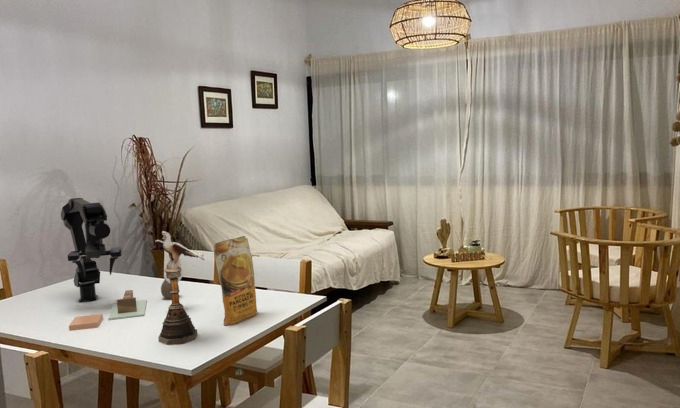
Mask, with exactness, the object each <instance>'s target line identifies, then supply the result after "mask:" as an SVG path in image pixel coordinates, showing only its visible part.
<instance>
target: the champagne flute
mask: <svg viewBox="0 0 680 408" xmlns="http://www.w3.org/2000/svg"><path fill="white" fill-rule="evenodd" d="M163 250H164V249H163ZM163 255H164V257H163V258H164V259H163V278H164V280H165V279H166V281H168V282H169V283H170V281H169V280H170V279H169V278H167V277H166V274H167V273H166V272H165V269H166V268H167V267H166V265H167V263H168V262H169V261H170V260H171V259H170V257H169V253H168V252H166V251H165V250H164V254H163ZM180 257H181V256H180ZM180 257H179V259H178V263H179V267H180V268H181V269H182V270H181V272H180V273H181V276H180V277H179V278H178V283H179V282H180V281H181V280H182V278H183V276H184V274H183V267H182V262H181V258H180ZM183 308H184V310H185V311H186V308H185V307H184V306H183ZM168 310H169V309H167V310H166V313H168Z"/></svg>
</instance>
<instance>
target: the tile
mask: <svg viewBox="0 0 680 408" xmlns="http://www.w3.org/2000/svg"><path fill="white" fill-rule="evenodd" d="M103 320H104V314H103V313H98V314H88V315H81V316H80V315H79V316H75V317H74V318H73V320H71V322H70V323H69V325H68V330H70V331H77V330H79V331H80V330H86V329H87V330H88V329H96V328H99V326H100V325H101V323H102V321H103Z"/></svg>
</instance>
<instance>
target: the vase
mask: <svg viewBox="0 0 680 408" xmlns="http://www.w3.org/2000/svg"><path fill="white" fill-rule="evenodd" d="M179 287H180V286H179V285H178V290H180V288H179ZM170 291H171V284H170V283H169V282H168V281H166V279H165V278H164V280H163V282H162V283H161V286H160V293H161V295H162V297H163V298H164V300H172V298H171V293H170Z"/></svg>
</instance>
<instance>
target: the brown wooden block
mask: <svg viewBox="0 0 680 408" xmlns="http://www.w3.org/2000/svg"><path fill="white" fill-rule="evenodd" d="M136 301H137V297H135V296H134V290H133V289H128V290H125V292H124V293H123V298H119V299H116V303H117V308H118V314H119V313H128V312H137V306H136Z"/></svg>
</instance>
